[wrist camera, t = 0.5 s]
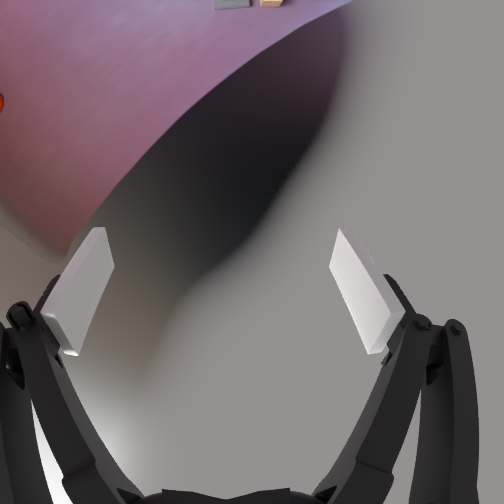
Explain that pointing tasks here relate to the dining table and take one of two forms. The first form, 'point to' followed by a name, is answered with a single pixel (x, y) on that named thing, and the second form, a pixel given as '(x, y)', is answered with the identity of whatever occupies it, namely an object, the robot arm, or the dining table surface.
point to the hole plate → (231, 4)
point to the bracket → (1, 103)
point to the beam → (270, 3)
